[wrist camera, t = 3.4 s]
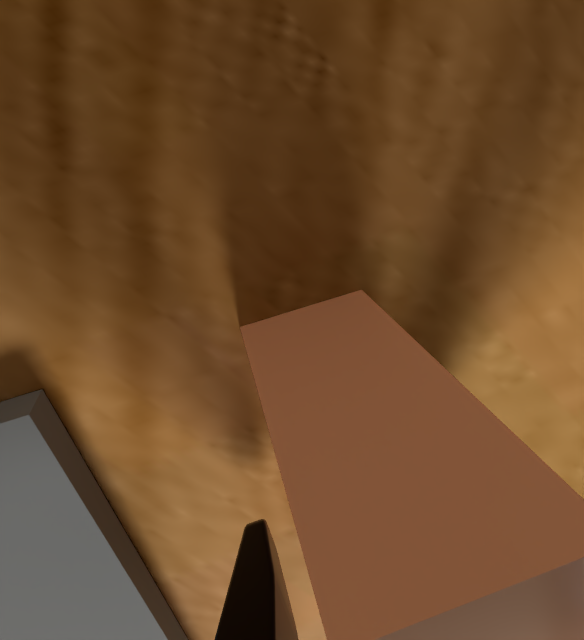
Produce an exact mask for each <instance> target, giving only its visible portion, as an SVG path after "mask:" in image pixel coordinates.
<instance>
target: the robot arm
mask: <svg viewBox="0 0 584 640" xmlns="http://www.w3.org/2000/svg"><path fill="white" fill-rule="evenodd" d="M215 640H298V635H297V630H296V626H295V621H294V617H293V613H292V609H291V605H290V601H289V597H288V593H287V589H286V585H285V581H284V577H283V573H282V569H281V565H280V561H279V557H278V554H277V550H276V547H275V544H274V541H273V538H272V536H271V533H270V530H269V527H268V525H267V522H266V521H265V520H264V519H261V520H258V521H255V522H252V523H249V524H247V525H246V527H245V529H244V532H243V536H242V540H241V544H240V547H239V551H238V555H237V558H236V562H235V566H234V570H233V573H232V577H231V581H230V584H229V588H228V592H227V596H226V599H225V603H224V607H223V611H222V614H221V618H220V622H219V625H218V629H217V633H216V637H215Z"/></svg>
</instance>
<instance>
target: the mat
mask: <svg viewBox="0 0 584 640" xmlns="http://www.w3.org/2000/svg"><path fill="white" fill-rule="evenodd" d="M0 640H188V639H187V637H186V635H185V634H184V632H183V630H182V628H181V627H180V625H179V623H178V621H177V620H176V618H175V616H174V615H173V613H172V611H171V609H170V608H169V606H168V604H167V603H166V601H165V599H164V597H163V596H162V594H161V592H160V591H159V589H158V587H157V585H156V584H155V582H154V580H153V579H152V577H151V575H150V573H149V572H148V570H147V568H146V567H145V565H144V563H143V561H142V560H141V558H140V556H139V554H138V553H137V551H136V549H135V548H134V546H133V544H132V542H131V541H130V539H129V537H128V536H127V534H126V532H125V530H124V529H123V527H122V525H121V524H120V522H119V520H118V518H117V517H116V515H115V513H114V512H113V510H112V508H111V506H110V505H109V503H108V501H107V499H106V498H105V496H104V494H103V493H102V491H101V489H100V487H99V486H98V484H97V482H96V481H95V479H94V477H93V475H92V474H91V472H90V470H89V469H88V467H87V465H86V463H85V462H84V460H83V458H82V457H81V455H80V453H79V451H78V450H77V448H76V446H75V445H74V443H73V441H72V439H71V438H70V436H69V434H68V432H67V431H66V429H65V427H64V426H63V424H62V422H61V420H60V419H59V417H58V415H57V414H56V412H55V410H54V408H53V407H52V405H51V403H50V402H49V400H48V398H47V396H46V395H45V393H44V391H43V390H42V389H41V390H38V391H35V392H31V393H28V394H25V395H22V396H18V397H15V398H12V399H9V400H5V401H2V402H0Z"/></svg>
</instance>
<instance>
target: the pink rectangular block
mask: <svg viewBox="0 0 584 640" xmlns="http://www.w3.org/2000/svg"><path fill="white" fill-rule="evenodd" d="M240 330H241V333H242V337H243V340H244V344H245V348H246V351H247V355H248V358H249V362H250V365H251V369H252V373H253V376H254V380H255V383H256V387H257V390H258V394H259V398H260V401H261V405H262V408H263V412H264V415H265V419H266V423H267V426H268V430H269V433H270V437H271V441H272V444H273V448H274V451H275V455H276V458H277V462H278V466H279V469H280V473H281V476H282V480H283V483H284V487H285V491H286V494H287V498H288V501H289V505H290V508H291V512H292V516H293V519H294V523H295V526H296V530H297V533H298V537H299V541H300V544H301V548H302V551H303V555H304V559H305V562H306V566H307V569H308V573H309V576H310V580H311V584H312V587H313V591H314V594H315V598H316V601H317V605H318V609H319V612H320V616H321V619H322V623H323V626H324V630H325V634H326V637H327V640H584V499H583V498H582V497H581V496H580V495H579V494H577V493H576V492H575V491H574V490H573V489H572V488H571V487H570V486H569V485H568V484H567V483H566V482H565V481H564V480H563V479H562V478H561V477H559V476H558V475H557V474H556V473H555V472H554V471H553V470H552V469H551V468H550V467H549V466H548V465H547V464H546V463H545V462H544V461H543V460H542V459H540V458H539V457H538V456H537V455H536V454H535V453H534V452H533V451H532V450H531V449H530V448H529V447H528V446H527V445H526V444H525V443H524V442H522V441H521V440H520V439H519V438H518V437H517V436H516V435H515V434H514V433H513V432H512V431H511V430H510V429H509V428H508V427H507V426H506V425H504V424H503V423H502V422H501V421H500V420H499V419H498V418H497V417H496V416H495V415H494V414H493V413H492V412H491V411H490V410H489V409H488V408H486V407H485V406H484V405H483V404H482V403H481V402H480V401H479V400H478V399H477V398H476V397H475V396H474V395H473V394H472V393H471V392H470V391H468V390H467V389H466V388H465V387H464V386H463V385H462V384H461V383H460V382H459V381H458V380H457V379H456V378H455V377H454V376H453V375H452V374H450V373H449V372H448V371H447V370H446V369H445V368H444V367H443V366H442V365H441V364H440V363H439V362H438V361H437V360H436V359H435V358H434V357H433V356H431V355H430V354H429V353H428V352H427V351H426V350H425V349H424V348H423V347H422V346H421V345H420V344H419V343H418V342H417V341H416V340H415V339H413V338H412V337H411V336H410V335H409V334H408V333H407V332H406V331H405V330H404V329H403V328H402V327H401V326H400V325H399V324H398V323H397V322H395V321H394V320H393V319H392V318H391V317H390V316H389V315H388V314H387V313H386V312H385V311H384V310H383V309H382V308H381V307H380V306H379V305H377V304H376V303H375V302H374V301H373V300H372V299H371V298H370V297H369V296H368V295H367V294H366V293H365V292H364V291H363V290H359V291H355V292H352V293H349V294H346V295H342V296H339V297H336V298H333V299H329V300H326V301H323V302H320V303H316V304H313V305H310V306H307V307H303V308H300V309H297V310H294V311H290V312H287V313H284V314H281V315H277V316H274V317H271V318H268V319H264V320H261V321H258V322H255V323H251V324H248V325H245V326H242V327H240Z"/></svg>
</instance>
